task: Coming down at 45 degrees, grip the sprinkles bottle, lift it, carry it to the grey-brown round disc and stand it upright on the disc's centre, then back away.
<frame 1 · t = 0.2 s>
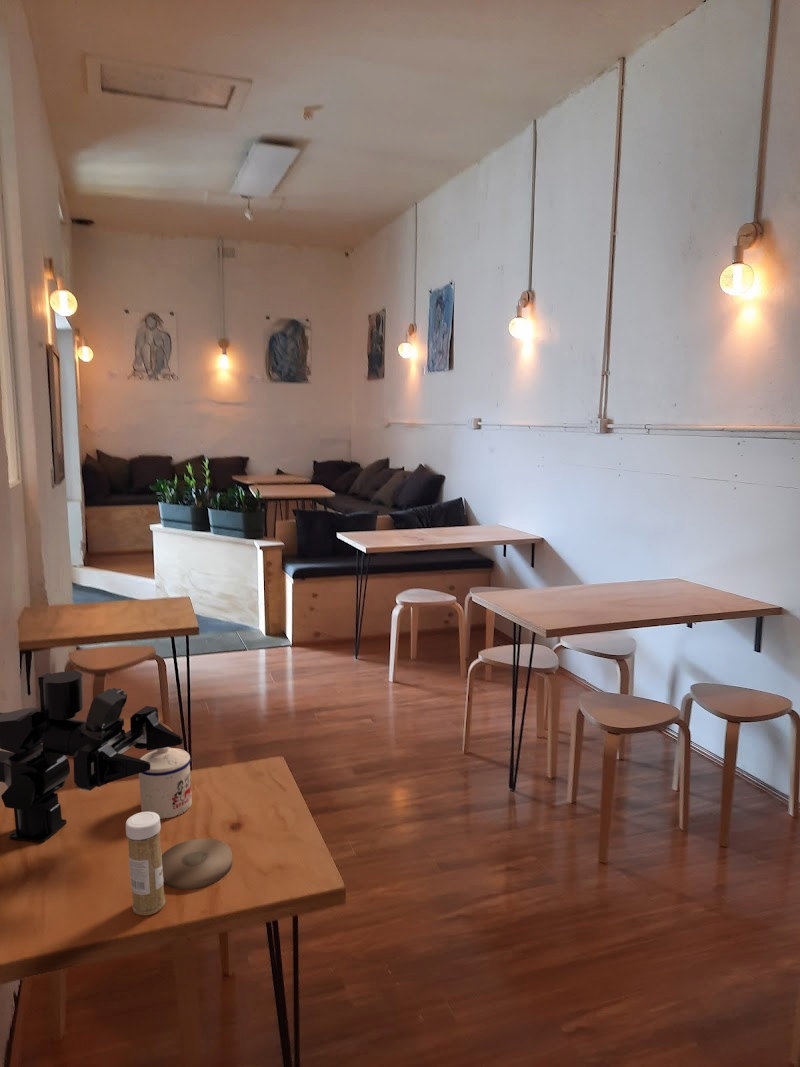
hand: (166, 753, 118), 17 cm above the table, tool horizontal, fingers open, 9 cm apart
sprinkles bottle: (148, 907, 107), on the table
cream ceramic jar: (170, 804, 136), on the table
grey-brown round disc: (195, 867, 116), on the table
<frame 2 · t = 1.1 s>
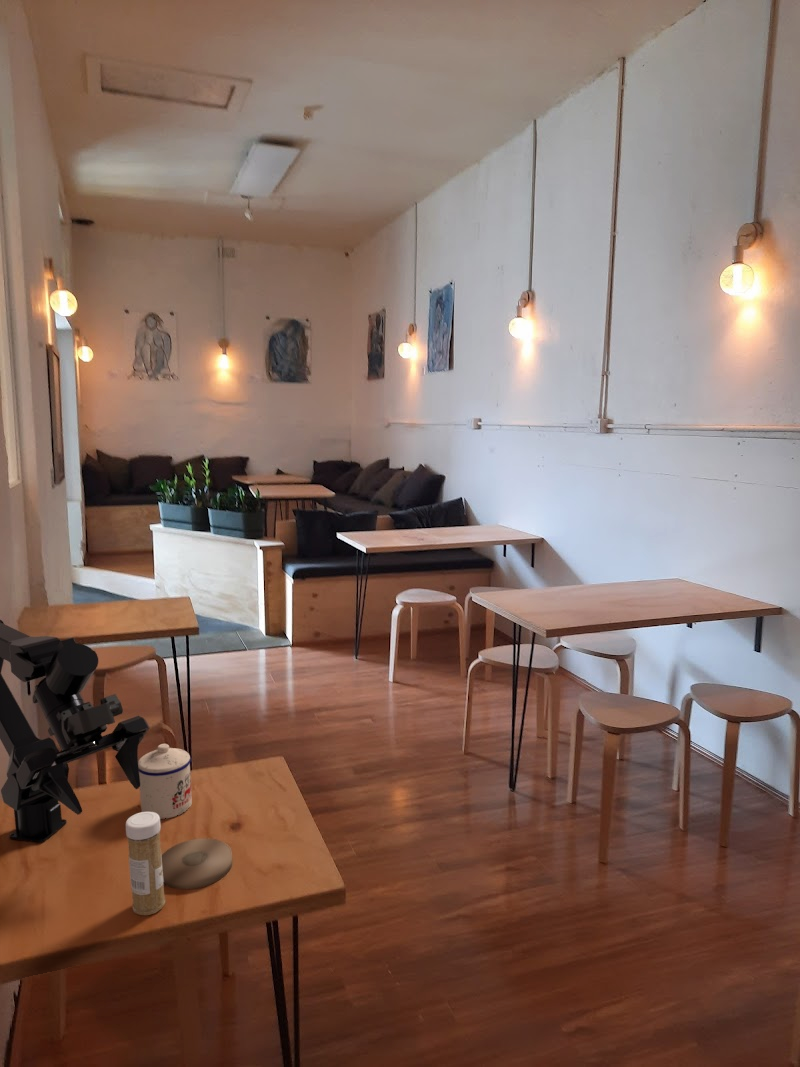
hand: (110, 800, 110), 13 cm above the table, tool tilted 45°, fingers open, 9 cm apart
nothing on the table moved.
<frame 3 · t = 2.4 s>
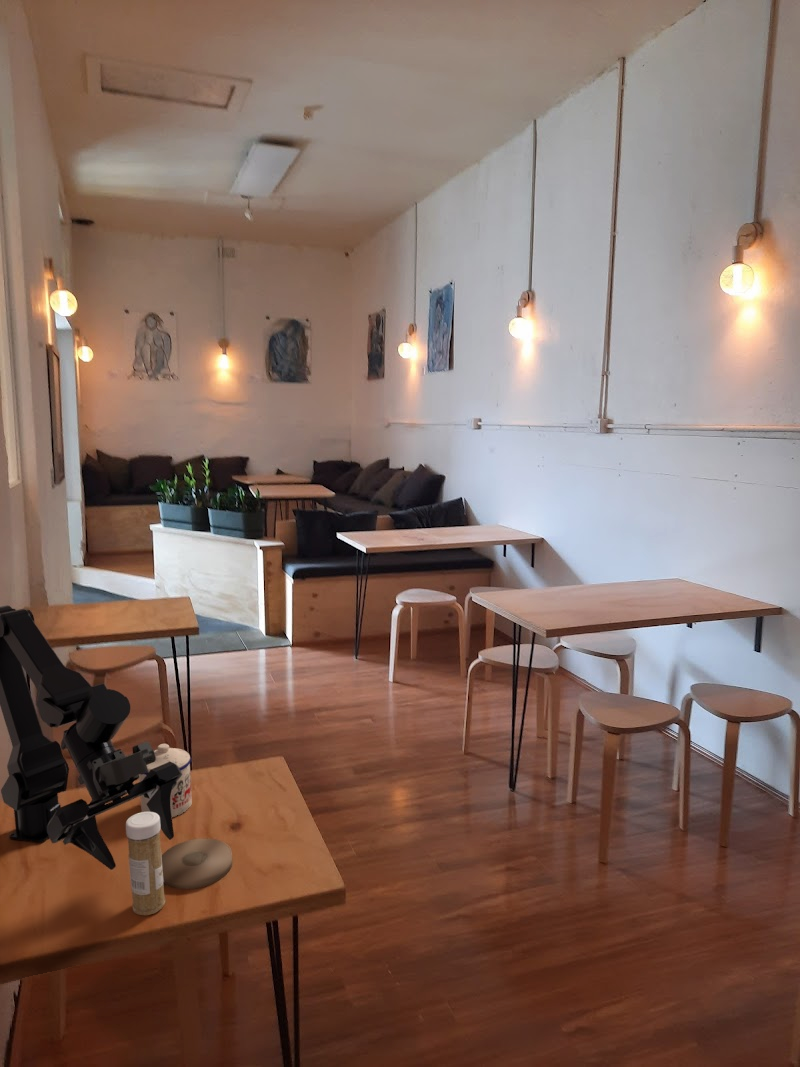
hand: (143, 852, 106), 8 cm above the table, tool tilted 45°, fingers open, 9 cm apart
nothing on the table moved.
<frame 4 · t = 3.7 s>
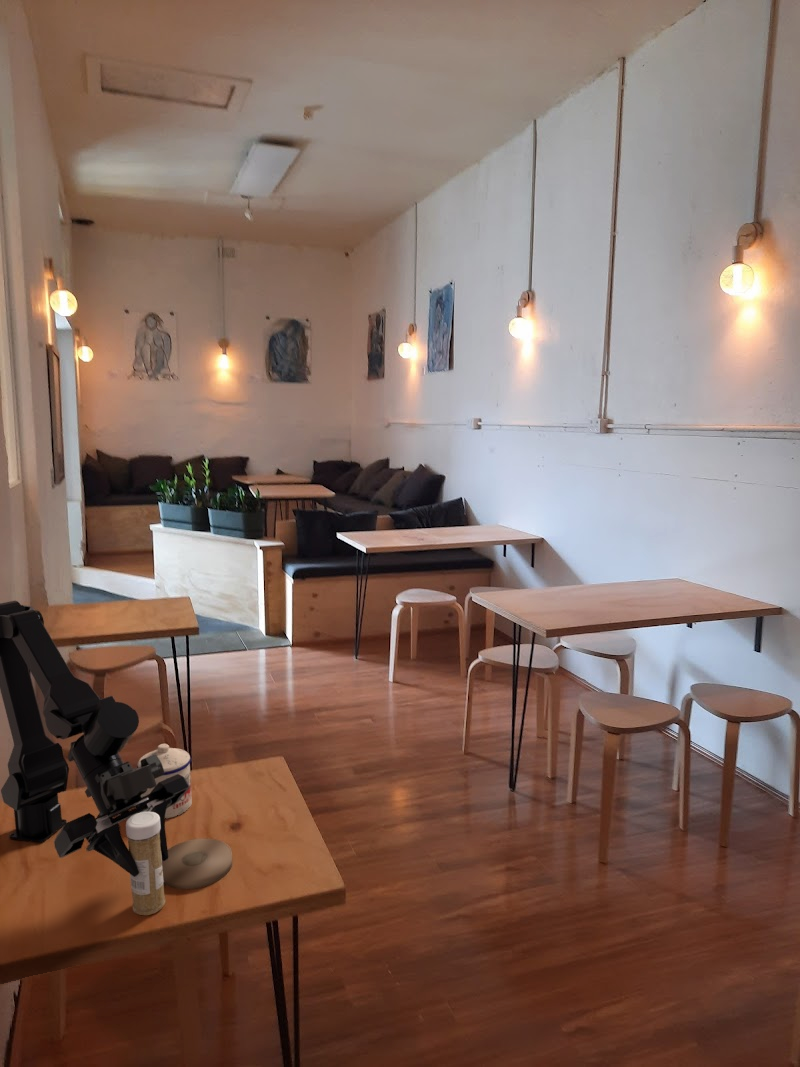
hand: (151, 867, 105), 7 cm above the table, tool tilted 45°, fingers closed on sprinkles bottle, 4 cm apart
sprinkles bottle: (149, 907, 107), on the table, touching gripper
everything else where it was.
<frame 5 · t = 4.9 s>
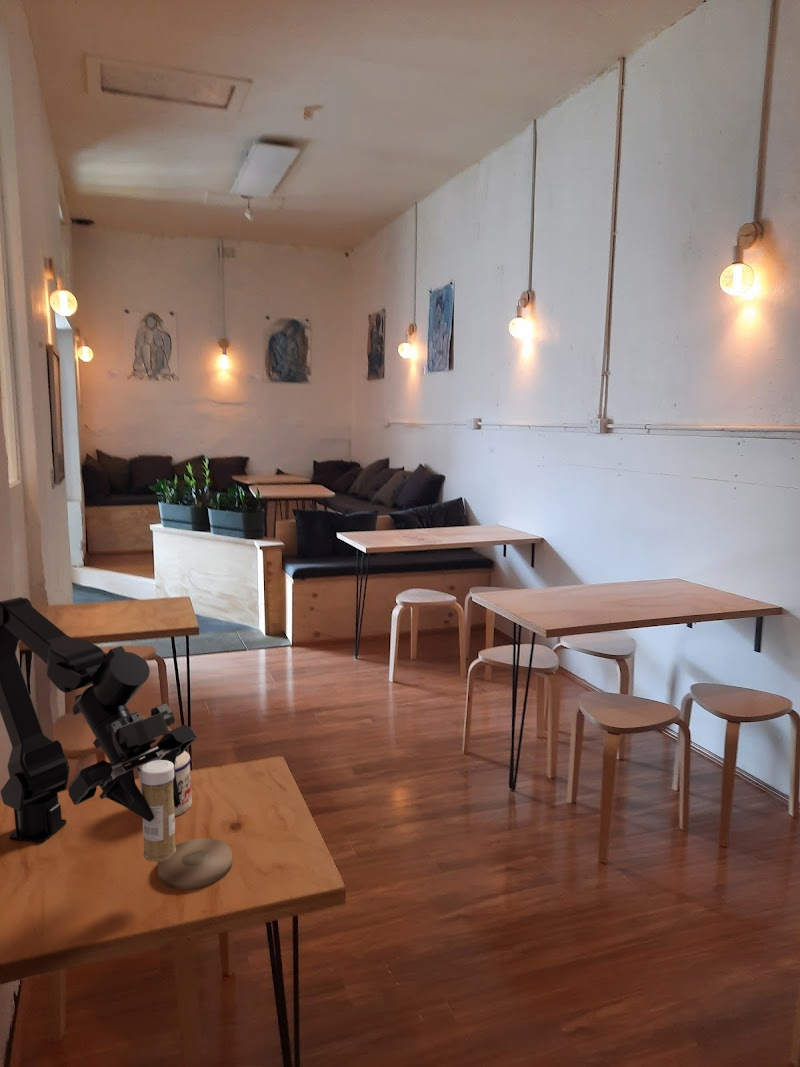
hand: (165, 812, 107), 13 cm above the table, tool tilted 45°, fingers closed on sprinkles bottle, 4 cm apart
sprinkles bottle: (159, 855, 108), point 6 cm above the table, touching gripper
everything else where it was.
when the fingers open (9 cm above the table, at t = 6.3 s): sprinkles bottle stays where it is, resting on grey-brown round disc.
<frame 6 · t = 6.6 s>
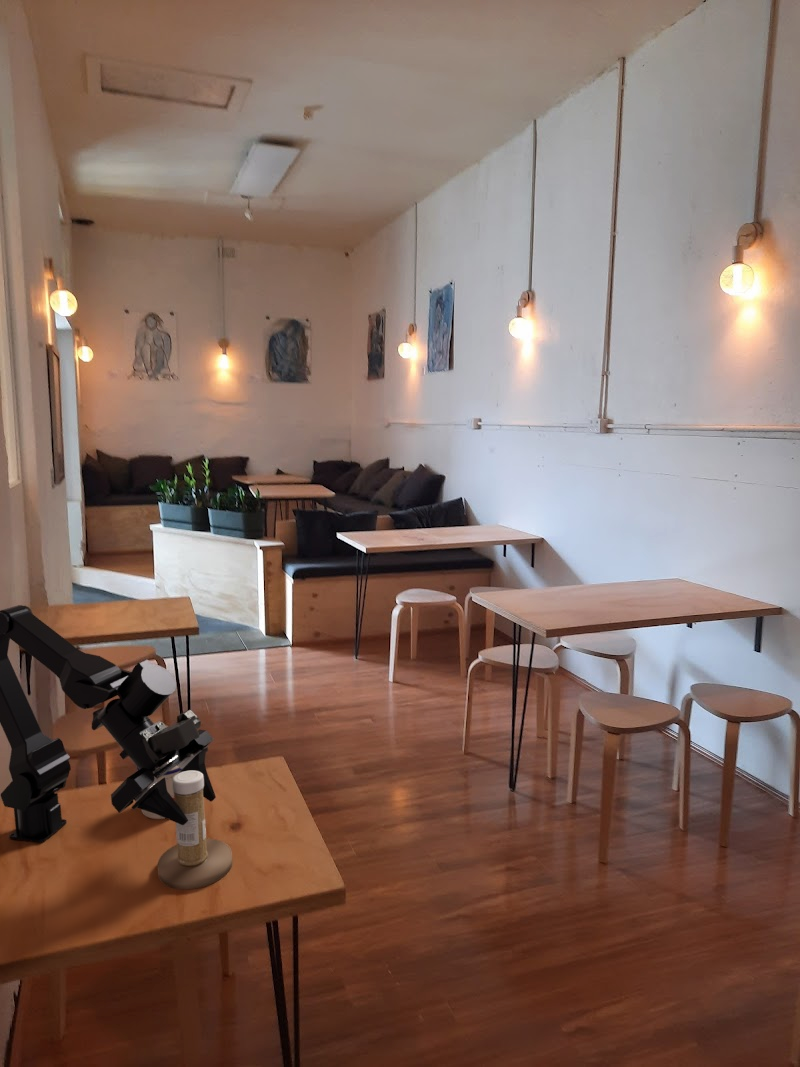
hand: (200, 811, 114), 10 cm above the table, tool tilted 45°, fingers open, 7 cm apart
sprinkles bottle: (192, 860, 116), point 1 cm above the table, touching grey-brown round disc
everything else where it was.
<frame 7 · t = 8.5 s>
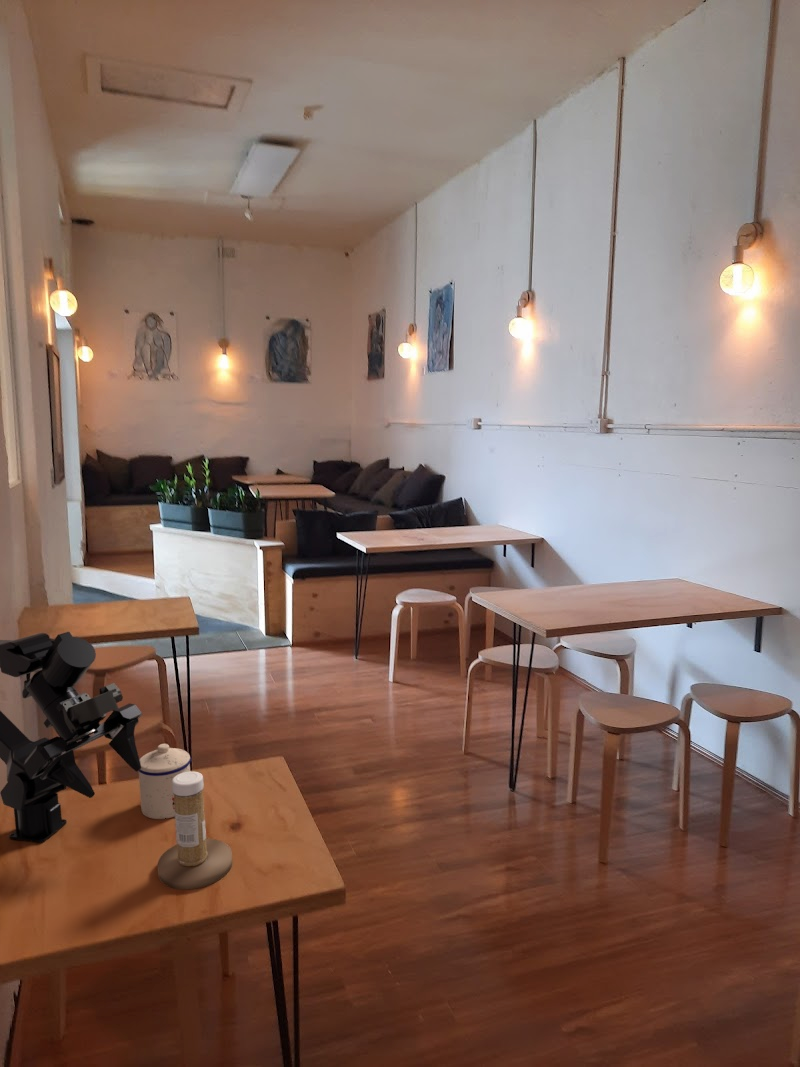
hand: (116, 782, 116), 13 cm above the table, tool tilted 45°, fingers open, 9 cm apart
nothing on the table moved.
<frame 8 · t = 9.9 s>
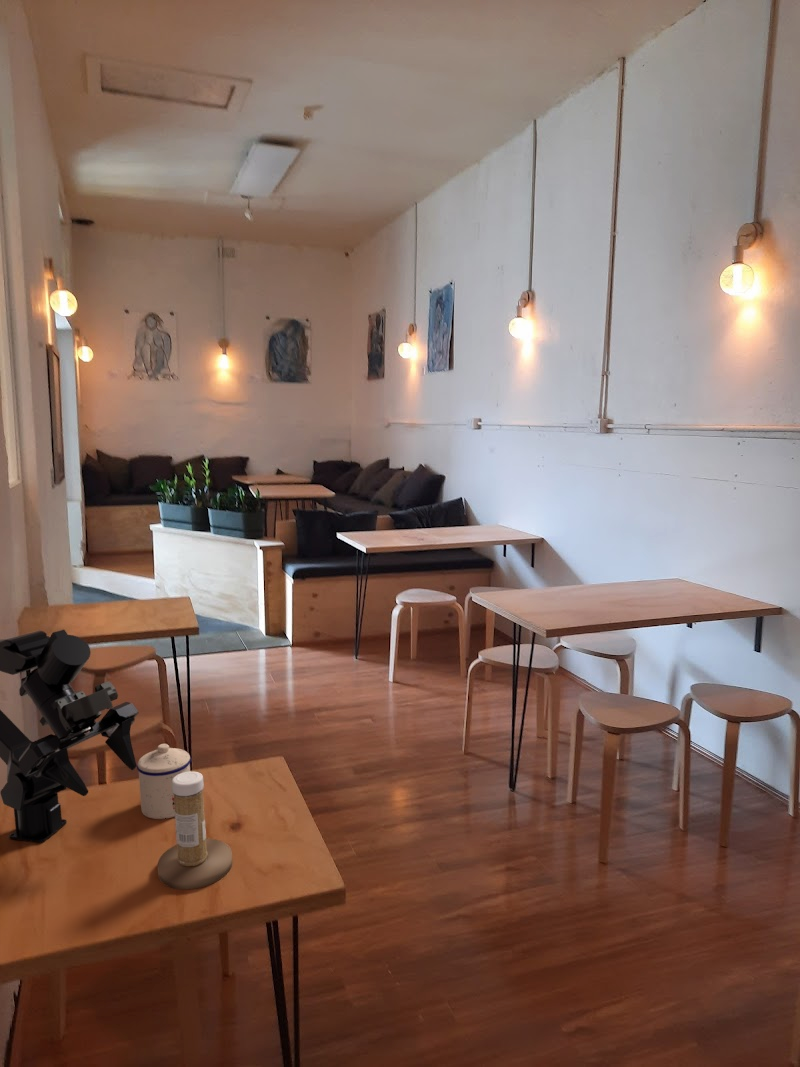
hand: (111, 781, 116), 14 cm above the table, tool tilted 45°, fingers open, 9 cm apart
nothing on the table moved.
at the end: sprinkles bottle 0.4 cm from the grey-brown round disc (horizontally); sprinkles bottle tilted 0°; sprinkles bottle touching grey-brown round disc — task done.
